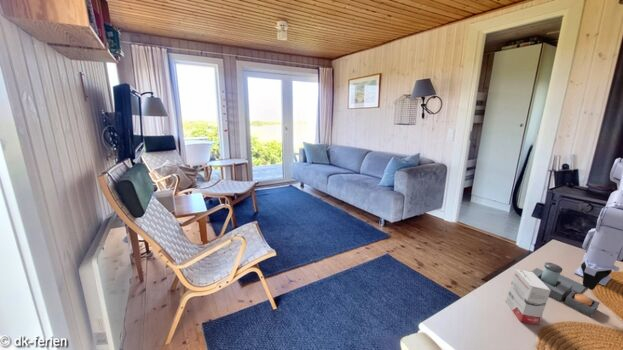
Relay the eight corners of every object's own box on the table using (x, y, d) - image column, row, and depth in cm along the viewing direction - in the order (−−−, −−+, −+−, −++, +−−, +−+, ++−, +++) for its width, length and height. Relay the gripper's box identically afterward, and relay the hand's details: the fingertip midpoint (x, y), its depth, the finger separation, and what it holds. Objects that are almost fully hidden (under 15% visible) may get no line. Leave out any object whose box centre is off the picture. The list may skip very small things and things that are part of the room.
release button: (574, 298, 83) (577, 292, 82) (591, 306, 80) (594, 300, 79) (570, 302, 81) (573, 296, 80) (587, 311, 78) (590, 304, 77)
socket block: (534, 273, 95) (536, 267, 95) (570, 290, 87) (573, 284, 86) (522, 282, 90) (524, 276, 89) (559, 301, 82) (562, 294, 81)
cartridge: (541, 280, 92) (547, 261, 89) (557, 288, 88) (564, 268, 86) (535, 284, 89) (542, 264, 87) (552, 292, 86) (559, 272, 83)
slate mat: (559, 275, 95) (560, 274, 95) (586, 287, 89) (586, 286, 89) (552, 281, 91) (552, 280, 91) (579, 294, 86) (579, 293, 86)
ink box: (539, 326, 72) (552, 290, 69) (520, 322, 73) (532, 287, 70) (522, 303, 80) (533, 270, 77) (504, 300, 81) (514, 268, 78)
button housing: (570, 296, 84) (573, 290, 84) (596, 309, 79) (599, 302, 79) (564, 303, 81) (566, 296, 80) (590, 316, 76) (593, 310, 76)
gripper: (618, 262, 68) (599, 304, 71) (631, 248, 75) (613, 287, 79) (581, 249, 73) (566, 289, 77) (597, 237, 81) (582, 274, 85)
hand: (588, 287), depth 78 cm, fingers closed
